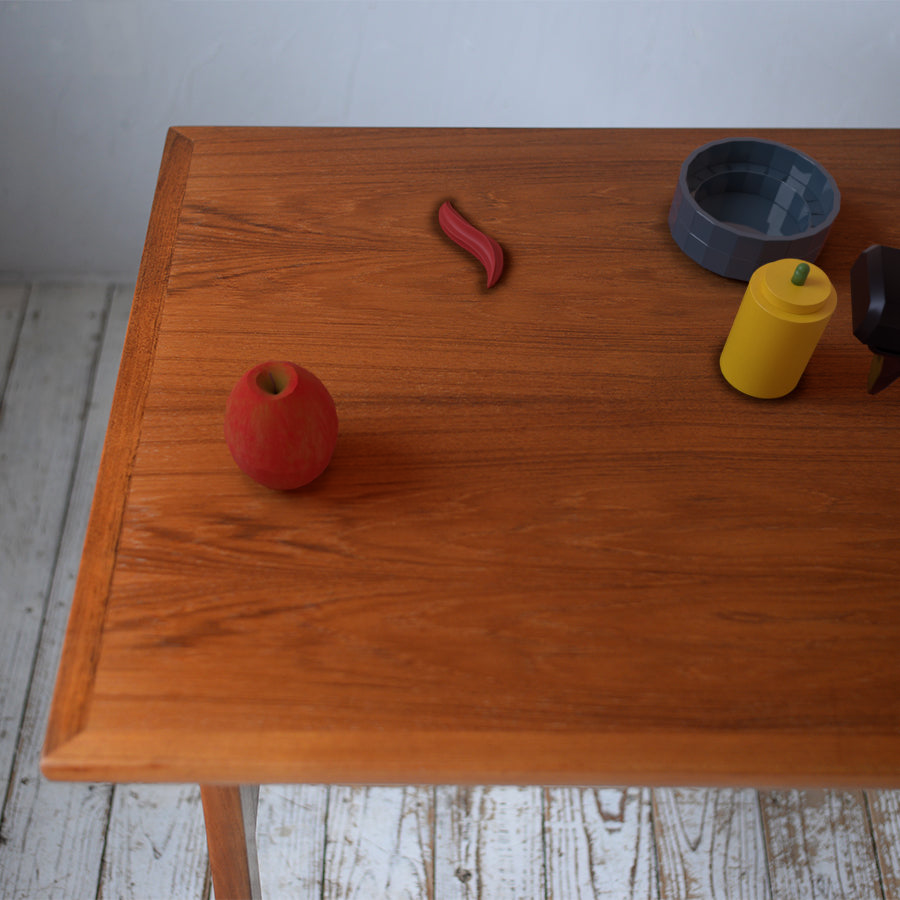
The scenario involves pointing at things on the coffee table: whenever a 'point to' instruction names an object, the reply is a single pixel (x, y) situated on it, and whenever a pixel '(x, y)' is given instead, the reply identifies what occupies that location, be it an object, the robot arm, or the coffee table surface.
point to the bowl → (751, 205)
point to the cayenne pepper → (473, 241)
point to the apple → (281, 425)
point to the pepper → (777, 327)
